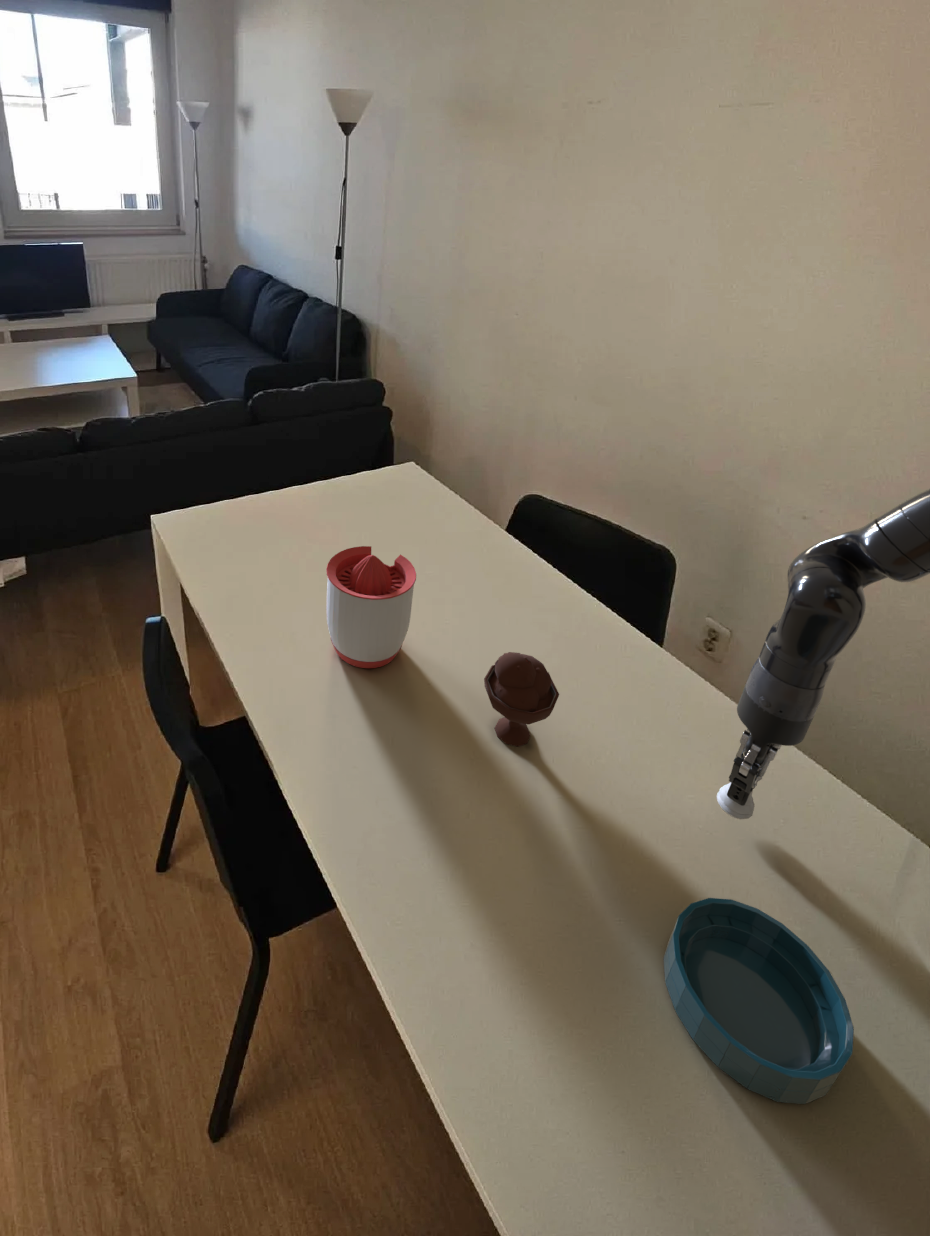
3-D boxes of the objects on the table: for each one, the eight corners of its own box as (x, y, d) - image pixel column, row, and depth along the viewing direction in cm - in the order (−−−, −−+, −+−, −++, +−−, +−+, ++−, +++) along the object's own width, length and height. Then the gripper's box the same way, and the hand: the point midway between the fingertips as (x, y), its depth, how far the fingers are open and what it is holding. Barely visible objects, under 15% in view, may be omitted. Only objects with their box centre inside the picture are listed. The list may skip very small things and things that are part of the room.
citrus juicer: (422, 629, 125) (432, 540, 117) (391, 690, 110) (400, 593, 102) (347, 605, 131) (352, 519, 123) (308, 660, 116) (311, 566, 108)
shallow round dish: (778, 930, 77) (791, 903, 75) (875, 1113, 63) (894, 1086, 61) (640, 919, 78) (650, 892, 76) (704, 1098, 63) (718, 1071, 61)
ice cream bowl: (521, 774, 96) (538, 697, 90) (463, 726, 104) (474, 652, 98) (562, 738, 102) (579, 663, 96) (503, 695, 110) (517, 624, 104)
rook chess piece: (723, 786, 93) (739, 745, 90) (757, 808, 90) (775, 767, 87) (710, 804, 91) (726, 763, 87) (745, 828, 87) (763, 786, 84)
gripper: (798, 745, 75) (753, 844, 82) (830, 686, 84) (787, 780, 91) (728, 706, 80) (691, 803, 87) (765, 655, 89) (729, 746, 96)
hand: (741, 791), depth 89 cm, fingers closed on rook chess piece, 3 cm apart
